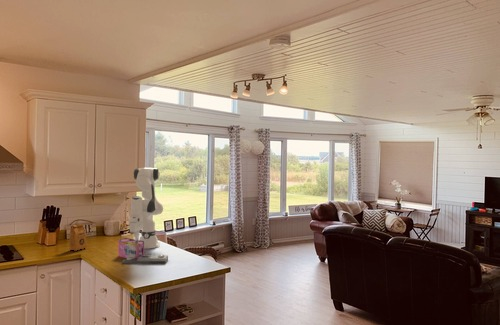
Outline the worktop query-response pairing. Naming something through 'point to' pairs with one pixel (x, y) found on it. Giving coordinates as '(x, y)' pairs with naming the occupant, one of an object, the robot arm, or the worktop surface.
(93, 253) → the worktop surface
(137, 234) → the pin
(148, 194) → the robot arm
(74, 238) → the coffee package
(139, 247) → the gum box
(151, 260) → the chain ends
